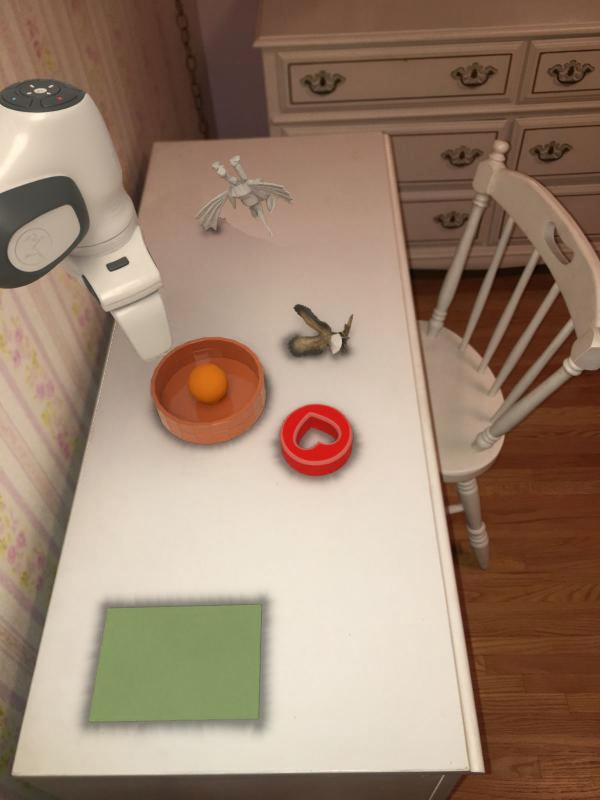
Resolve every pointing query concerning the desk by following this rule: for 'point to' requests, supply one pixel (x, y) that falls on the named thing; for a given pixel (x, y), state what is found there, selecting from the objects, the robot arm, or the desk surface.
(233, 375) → the pot
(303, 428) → the decorative ornament
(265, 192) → the grey winged dragon figurine
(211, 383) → the orange
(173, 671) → the felt mat
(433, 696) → the desk surface
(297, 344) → the eagle figurine
